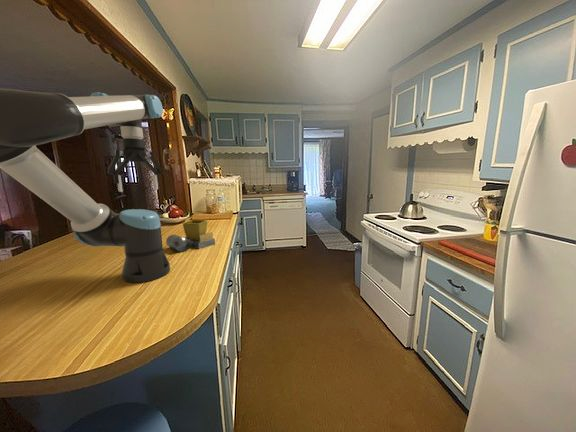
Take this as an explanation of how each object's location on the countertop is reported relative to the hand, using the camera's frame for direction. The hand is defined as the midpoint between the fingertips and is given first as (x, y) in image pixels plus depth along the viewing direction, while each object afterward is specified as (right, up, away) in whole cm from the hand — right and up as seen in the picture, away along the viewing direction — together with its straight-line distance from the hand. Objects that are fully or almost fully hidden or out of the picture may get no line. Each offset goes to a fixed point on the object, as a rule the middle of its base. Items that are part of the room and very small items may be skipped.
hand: (139, 190), depth 100 cm
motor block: (+15, -26, +16) cm, 34 cm away
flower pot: (+17, -23, +19) cm, 34 cm away
